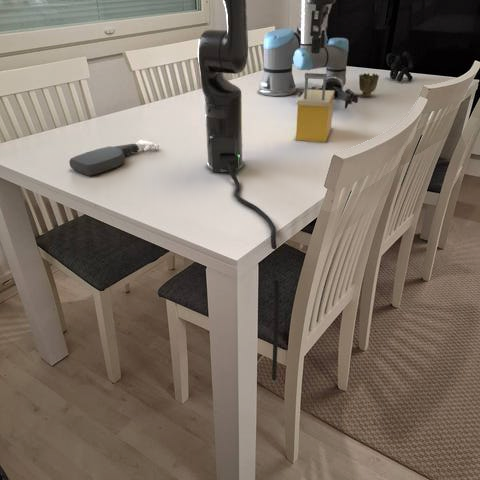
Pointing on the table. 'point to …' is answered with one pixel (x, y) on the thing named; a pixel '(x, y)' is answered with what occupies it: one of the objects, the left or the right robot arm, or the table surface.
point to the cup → (367, 83)
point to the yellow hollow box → (314, 122)
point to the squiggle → (399, 66)
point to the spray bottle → (106, 157)
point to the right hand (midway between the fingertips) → (325, 103)
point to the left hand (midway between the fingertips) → (317, 50)
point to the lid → (315, 92)
